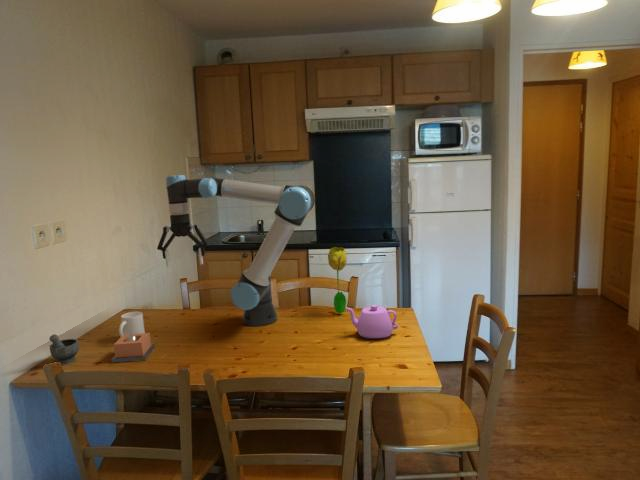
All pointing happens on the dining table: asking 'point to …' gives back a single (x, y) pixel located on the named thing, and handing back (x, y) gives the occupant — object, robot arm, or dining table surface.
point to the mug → (131, 323)
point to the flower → (337, 262)
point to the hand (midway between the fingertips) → (185, 265)
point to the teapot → (374, 322)
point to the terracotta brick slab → (132, 345)
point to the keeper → (133, 358)
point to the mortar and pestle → (64, 349)
